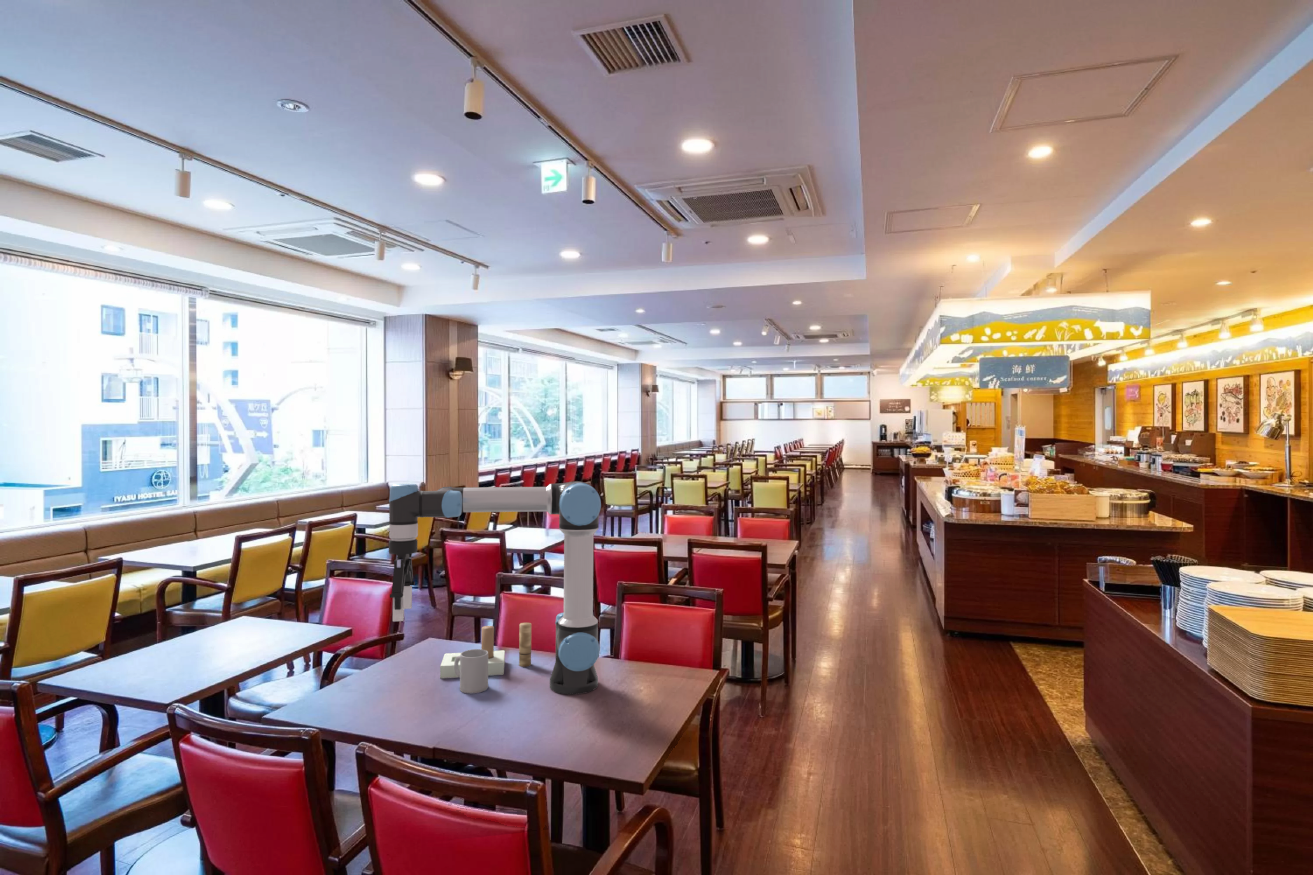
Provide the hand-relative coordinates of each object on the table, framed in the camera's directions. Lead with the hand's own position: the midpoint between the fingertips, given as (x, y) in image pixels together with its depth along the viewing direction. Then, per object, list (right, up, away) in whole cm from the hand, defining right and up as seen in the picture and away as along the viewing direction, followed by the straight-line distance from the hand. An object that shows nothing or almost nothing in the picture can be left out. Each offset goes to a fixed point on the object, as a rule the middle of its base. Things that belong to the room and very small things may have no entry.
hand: (402, 614), depth 187 cm
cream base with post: (+10, -28, +37) cm, 48 cm away
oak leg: (+26, -29, +42) cm, 57 cm away
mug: (+13, -29, +21) cm, 37 cm away
